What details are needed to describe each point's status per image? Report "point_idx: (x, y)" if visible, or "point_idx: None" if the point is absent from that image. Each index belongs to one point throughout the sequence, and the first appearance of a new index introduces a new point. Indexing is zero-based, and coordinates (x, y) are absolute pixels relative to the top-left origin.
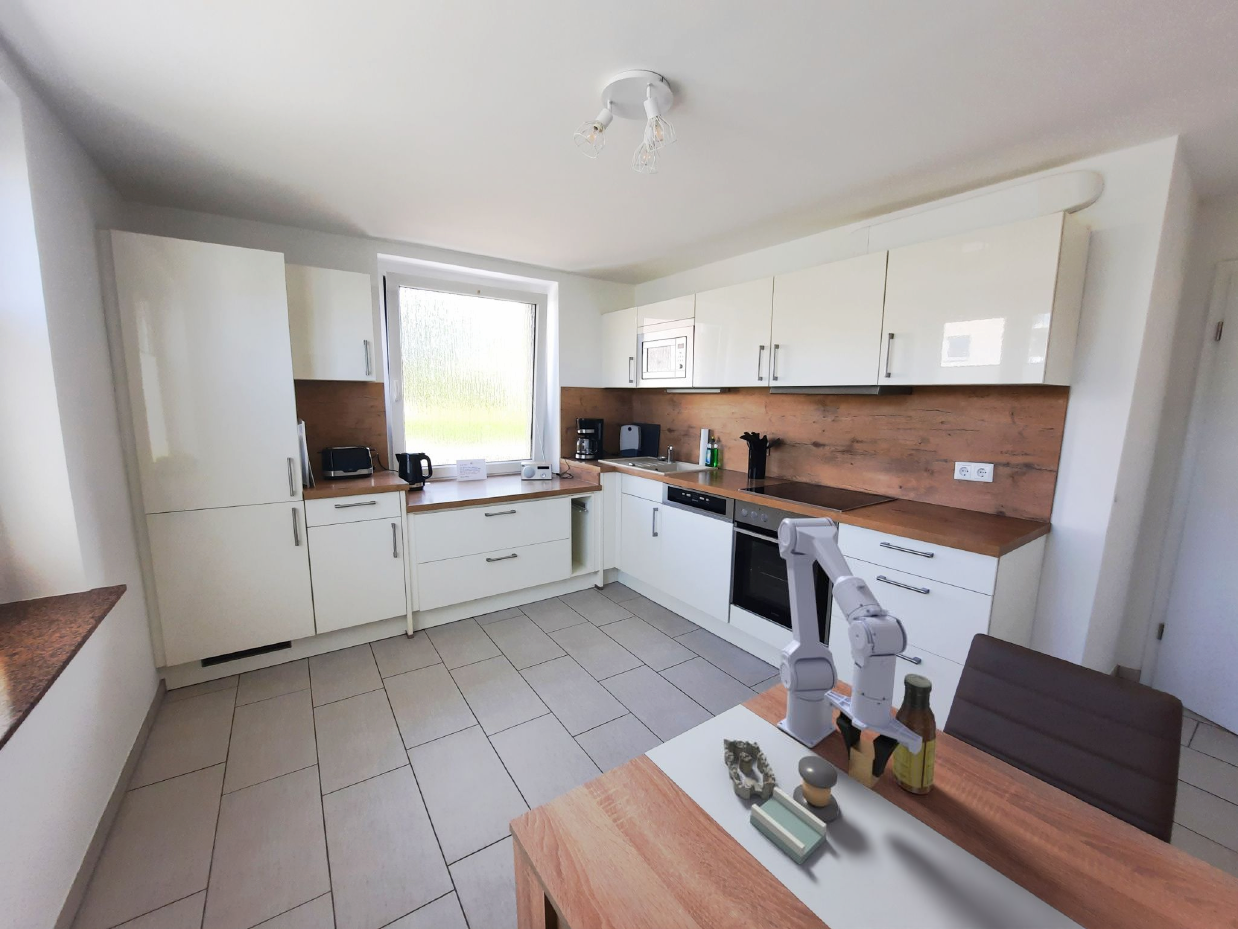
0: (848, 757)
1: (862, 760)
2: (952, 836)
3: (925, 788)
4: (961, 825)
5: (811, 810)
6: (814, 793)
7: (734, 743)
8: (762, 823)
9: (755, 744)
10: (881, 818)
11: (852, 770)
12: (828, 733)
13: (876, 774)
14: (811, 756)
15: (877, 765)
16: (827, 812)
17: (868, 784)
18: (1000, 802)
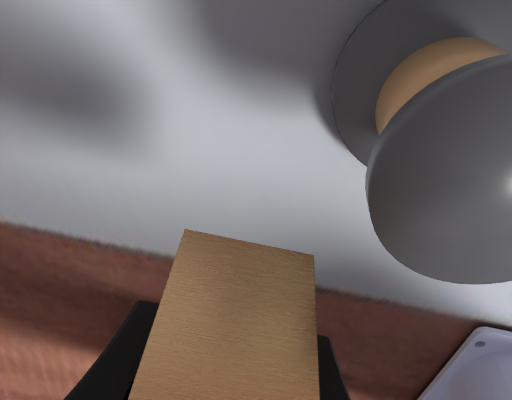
0: (331, 353)
1: (219, 376)
2: (17, 239)
3: None
4: (23, 285)
5: (450, 20)
6: (474, 60)
7: None
8: None
9: None
10: (192, 183)
11: (292, 284)
12: (427, 395)
13: (137, 317)
14: None
15: (102, 384)
16: (374, 62)
17: (192, 244)
18: (6, 381)
